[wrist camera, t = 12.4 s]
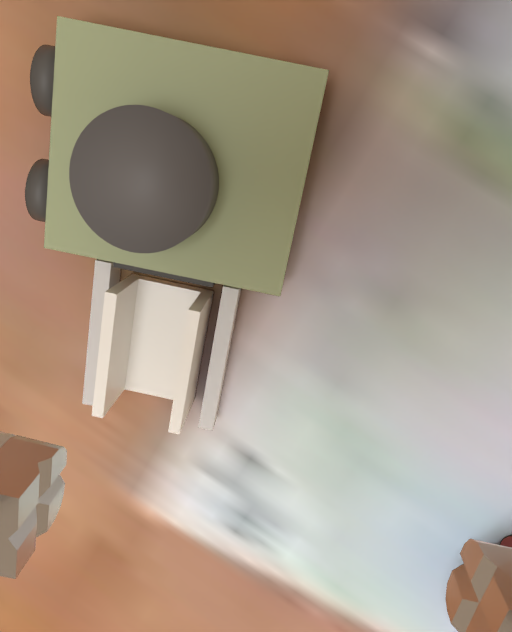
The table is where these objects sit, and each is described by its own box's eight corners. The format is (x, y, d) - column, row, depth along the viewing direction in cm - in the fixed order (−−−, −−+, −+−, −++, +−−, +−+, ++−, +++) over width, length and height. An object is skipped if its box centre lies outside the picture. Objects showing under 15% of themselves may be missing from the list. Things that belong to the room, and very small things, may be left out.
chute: (133, 273, 32) (104, 291, 27) (214, 290, 32) (200, 312, 27) (119, 381, 34) (91, 415, 30) (195, 397, 34) (179, 434, 29)
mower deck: (65, 30, 28) (-1, -10, 22) (324, 81, 28) (333, 57, 21) (43, 379, 35) (-11, 426, 28) (251, 423, 34) (242, 479, 28)
